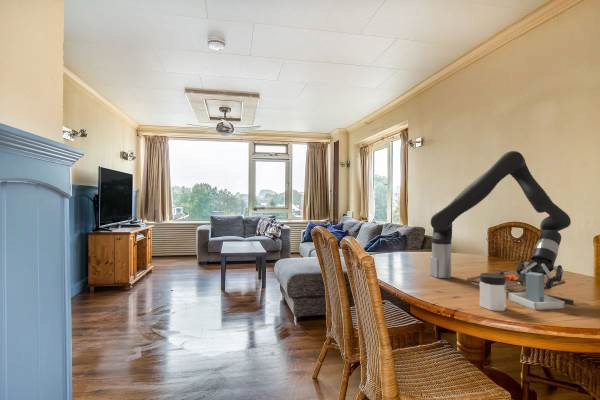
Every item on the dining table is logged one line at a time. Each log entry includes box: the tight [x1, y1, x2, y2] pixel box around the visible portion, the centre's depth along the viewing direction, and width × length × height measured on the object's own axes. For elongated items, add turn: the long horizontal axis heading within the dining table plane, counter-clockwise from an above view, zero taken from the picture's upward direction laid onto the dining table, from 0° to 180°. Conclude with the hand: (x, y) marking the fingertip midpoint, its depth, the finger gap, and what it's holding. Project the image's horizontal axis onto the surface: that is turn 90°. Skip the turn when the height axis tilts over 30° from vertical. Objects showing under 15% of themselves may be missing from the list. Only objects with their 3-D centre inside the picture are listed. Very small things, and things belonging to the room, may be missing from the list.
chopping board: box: [466, 269, 565, 293], centre depth 157 cm, size 45×27×3 cm, turn 120°
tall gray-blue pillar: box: [526, 272, 545, 303], centre depth 124 cm, size 4×5×11 cm
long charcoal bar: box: [544, 293, 575, 305], centre depth 127 cm, size 11×2×2 cm, turn 35°
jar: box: [479, 272, 507, 312], centre depth 120 cm, size 9×8×12 cm
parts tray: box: [507, 292, 566, 311], centre depth 124 cm, size 12×12×2 cm
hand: (533, 285), depth 123 cm, fingers open, 8 cm apart
